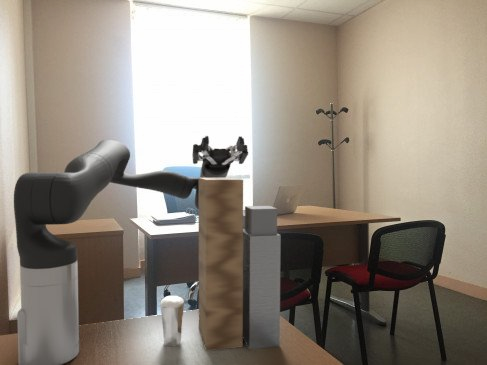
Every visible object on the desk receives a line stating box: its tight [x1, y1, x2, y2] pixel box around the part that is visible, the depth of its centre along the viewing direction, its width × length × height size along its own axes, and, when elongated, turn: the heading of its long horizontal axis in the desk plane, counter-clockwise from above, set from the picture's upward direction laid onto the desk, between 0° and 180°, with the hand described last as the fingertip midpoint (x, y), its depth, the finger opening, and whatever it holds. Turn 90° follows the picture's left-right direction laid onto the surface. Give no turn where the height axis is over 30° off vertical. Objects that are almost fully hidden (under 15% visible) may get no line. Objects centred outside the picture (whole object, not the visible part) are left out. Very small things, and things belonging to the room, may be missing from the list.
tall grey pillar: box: [242, 227, 282, 350], centre depth 81 cm, size 6×12×22 cm, turn 14°
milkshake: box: [160, 293, 188, 348], centre depth 77 cm, size 4×5×10 cm
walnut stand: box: [198, 177, 244, 351], centre depth 79 cm, size 7×10×32 cm
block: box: [243, 205, 278, 236], centre depth 84 cm, size 5×19×5 cm, turn 14°
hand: (224, 138), depth 98 cm, fingers open, 8 cm apart
